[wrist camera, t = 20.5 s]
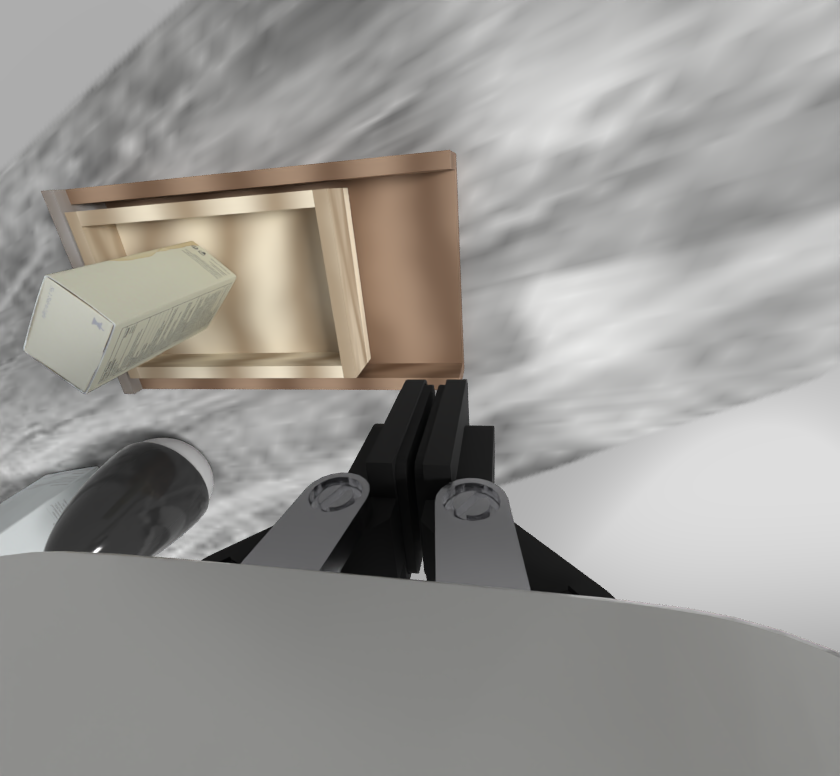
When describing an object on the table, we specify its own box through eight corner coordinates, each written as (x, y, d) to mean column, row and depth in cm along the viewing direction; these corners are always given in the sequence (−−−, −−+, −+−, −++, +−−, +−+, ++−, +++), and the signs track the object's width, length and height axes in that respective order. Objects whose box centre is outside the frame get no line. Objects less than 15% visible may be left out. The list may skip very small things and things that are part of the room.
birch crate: (347, 187, 30) (326, 188, 27) (370, 358, 36) (356, 377, 32) (109, 209, 34) (64, 212, 31) (163, 360, 40) (130, 378, 36)
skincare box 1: (74, 509, 53) (-67, 618, 40) (46, 470, 51) (-114, 571, 38) (126, 503, 51) (-5, 616, 38) (99, 462, 49) (-51, 566, 36)
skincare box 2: (193, 238, 33) (42, 266, 22) (241, 277, 34) (117, 322, 23) (163, 298, 36) (16, 349, 25) (208, 333, 36) (83, 397, 26)
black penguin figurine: (209, 516, 49) (99, 642, 36) (130, 463, 48) (-16, 574, 34) (246, 464, 45) (136, 585, 31) (160, 404, 43) (6, 505, 30)
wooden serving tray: (455, 153, 29) (447, 148, 25) (464, 369, 36) (458, 395, 32) (100, 189, 35) (40, 191, 30) (164, 370, 41) (124, 393, 37)
